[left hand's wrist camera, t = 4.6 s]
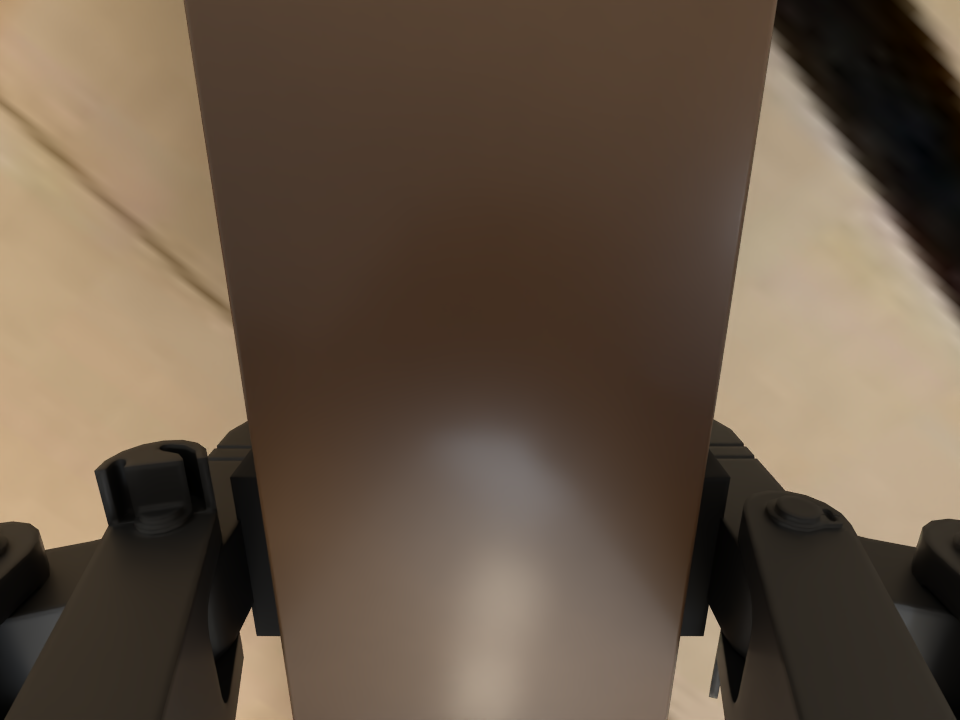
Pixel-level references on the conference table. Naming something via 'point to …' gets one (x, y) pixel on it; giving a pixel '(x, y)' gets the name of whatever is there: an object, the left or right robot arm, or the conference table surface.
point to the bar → (480, 332)
